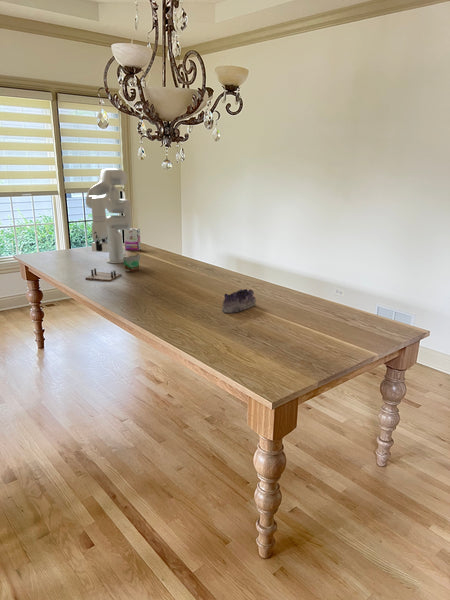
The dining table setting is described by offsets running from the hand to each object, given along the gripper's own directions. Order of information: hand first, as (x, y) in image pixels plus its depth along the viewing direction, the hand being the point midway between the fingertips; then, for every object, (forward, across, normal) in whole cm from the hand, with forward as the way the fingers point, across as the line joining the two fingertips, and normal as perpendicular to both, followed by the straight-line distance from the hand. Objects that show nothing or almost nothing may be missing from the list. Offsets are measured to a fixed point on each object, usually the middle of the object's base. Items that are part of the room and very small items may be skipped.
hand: (101, 249), depth 257 cm
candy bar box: (+18, -80, -22) cm, 85 cm away
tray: (+17, 0, 0) cm, 17 cm away
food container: (+17, -20, +10) cm, 28 cm away
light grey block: (+1, 0, 0) cm, 1 cm away
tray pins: (+16, 0, 0) cm, 16 cm away
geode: (+17, +28, +91) cm, 97 cm away
